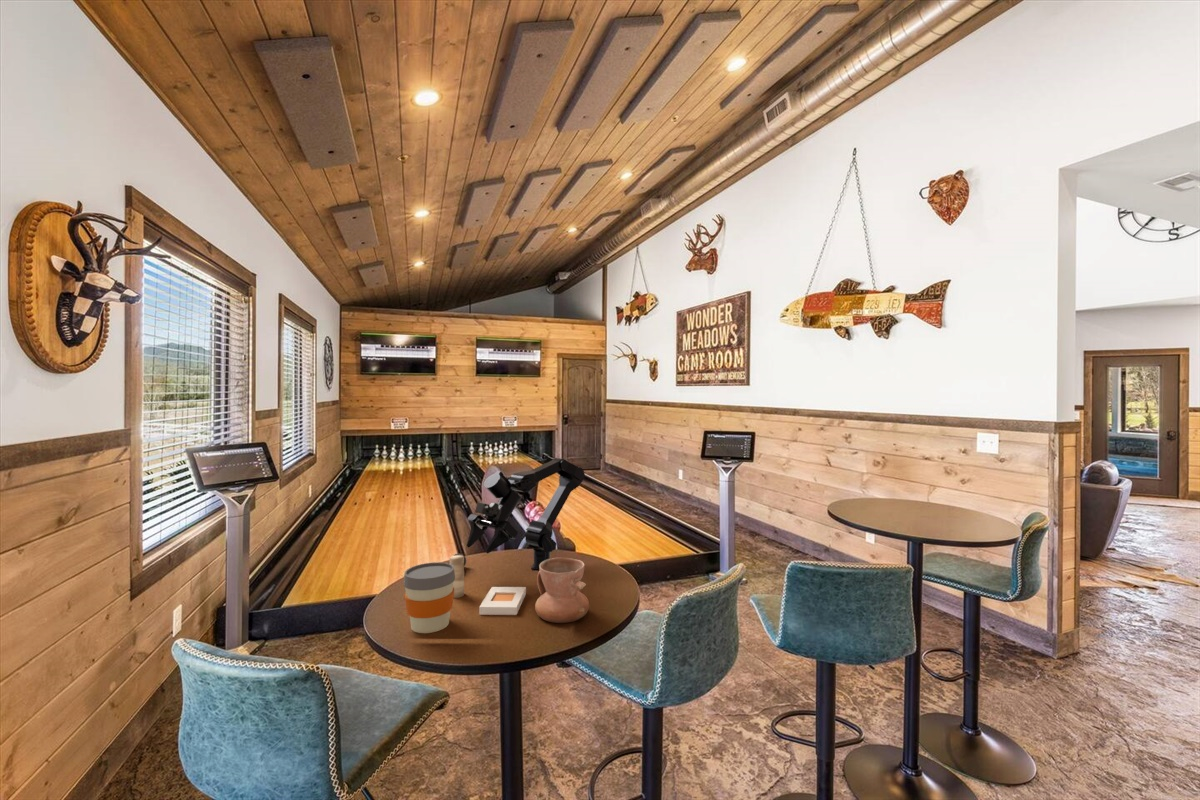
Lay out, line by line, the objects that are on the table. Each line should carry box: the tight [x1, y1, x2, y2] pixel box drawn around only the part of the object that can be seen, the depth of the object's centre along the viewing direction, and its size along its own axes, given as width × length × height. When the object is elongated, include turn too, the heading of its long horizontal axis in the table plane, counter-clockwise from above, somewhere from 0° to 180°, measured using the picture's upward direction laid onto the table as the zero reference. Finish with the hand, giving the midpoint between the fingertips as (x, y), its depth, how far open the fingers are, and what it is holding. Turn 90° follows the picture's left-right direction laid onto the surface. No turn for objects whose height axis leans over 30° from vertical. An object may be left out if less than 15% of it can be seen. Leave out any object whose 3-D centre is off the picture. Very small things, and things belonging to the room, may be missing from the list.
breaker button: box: [493, 595, 515, 601], centre depth 144 cm, size 5×5×2 cm
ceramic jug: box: [534, 557, 590, 624], centre depth 138 cm, size 18×14×14 cm
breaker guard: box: [478, 586, 527, 616], centre depth 144 cm, size 14×10×3 cm
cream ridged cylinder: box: [449, 555, 465, 599], centre depth 150 cm, size 4×4×12 cm
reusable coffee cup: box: [403, 561, 455, 634], centre depth 131 cm, size 13×13×15 cm
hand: (476, 549), depth 156 cm, fingers open, 9 cm apart
